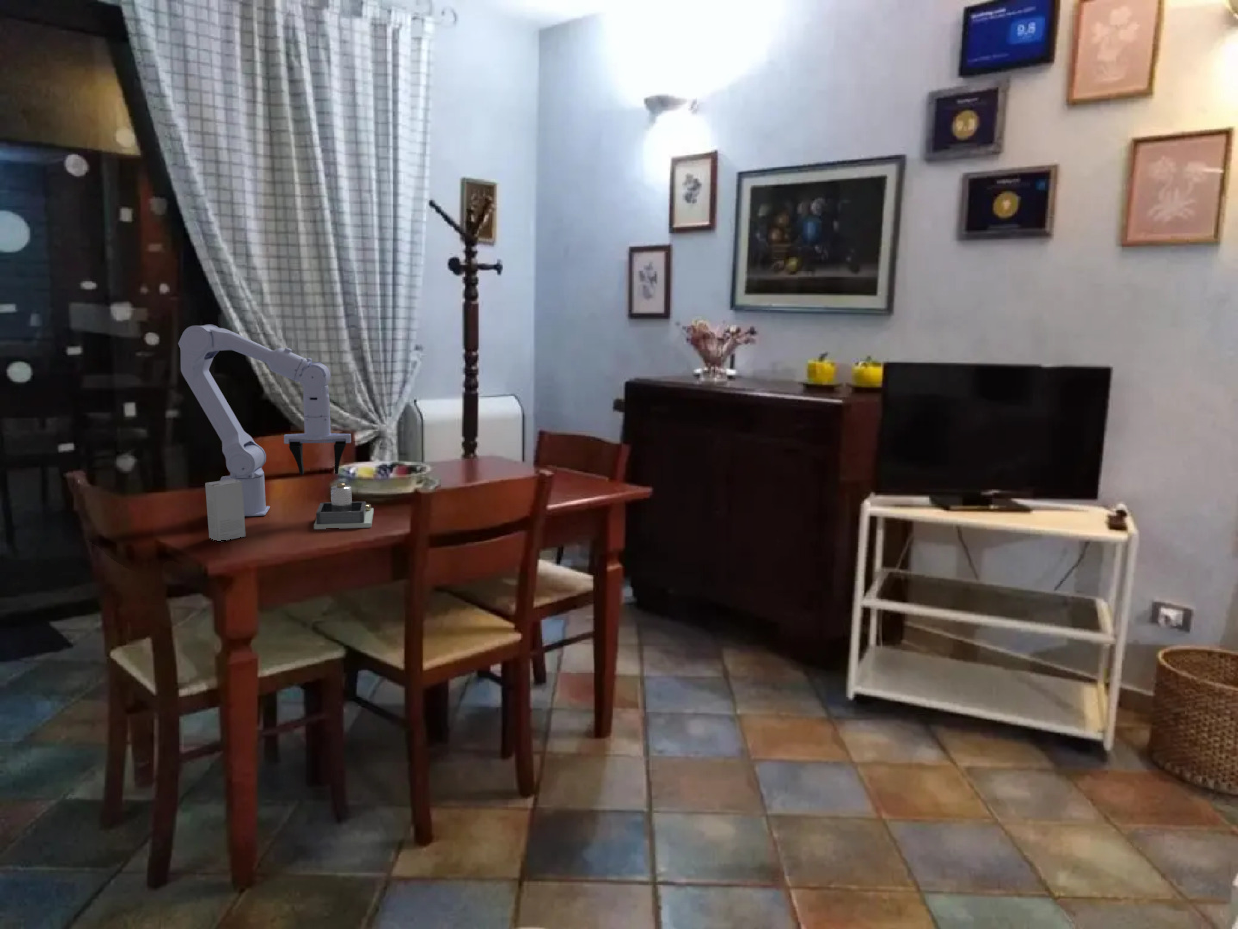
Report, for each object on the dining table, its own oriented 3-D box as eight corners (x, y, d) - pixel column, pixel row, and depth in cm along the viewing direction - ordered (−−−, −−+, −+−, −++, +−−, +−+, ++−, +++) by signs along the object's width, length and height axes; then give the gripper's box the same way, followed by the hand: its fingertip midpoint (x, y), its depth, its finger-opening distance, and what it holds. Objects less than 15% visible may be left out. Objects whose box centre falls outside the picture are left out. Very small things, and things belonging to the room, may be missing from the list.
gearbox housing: (314, 529, 189) (313, 513, 188) (320, 513, 202) (319, 499, 201) (371, 527, 191) (370, 512, 191) (373, 512, 205) (373, 497, 204)
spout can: (331, 520, 192) (329, 485, 191) (333, 513, 198) (332, 480, 197) (351, 519, 193) (350, 485, 192) (353, 513, 199) (352, 480, 198)
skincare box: (236, 533, 184) (233, 477, 181) (246, 537, 181) (243, 481, 179) (207, 539, 179) (203, 481, 177) (217, 543, 176) (214, 485, 174)
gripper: (281, 418, 193) (283, 477, 196) (348, 417, 196) (350, 476, 199) (285, 414, 200) (287, 471, 202) (350, 413, 203) (352, 470, 206)
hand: (319, 473), depth 201 cm, fingers open, 7 cm apart
